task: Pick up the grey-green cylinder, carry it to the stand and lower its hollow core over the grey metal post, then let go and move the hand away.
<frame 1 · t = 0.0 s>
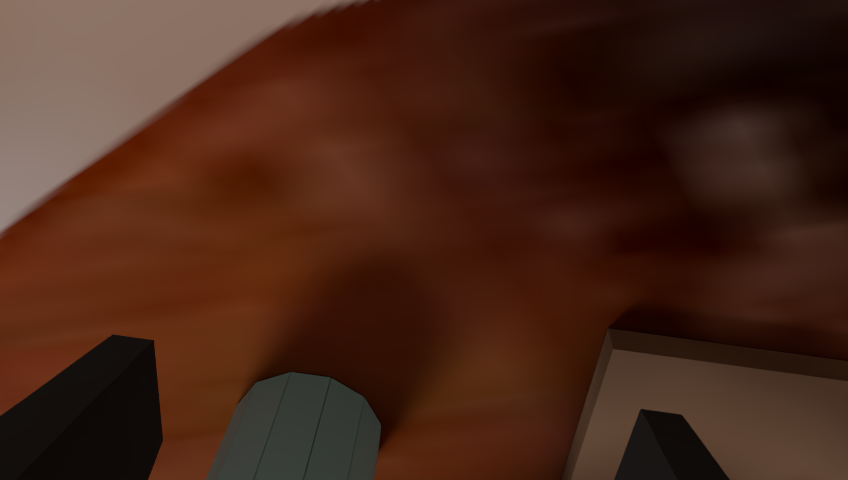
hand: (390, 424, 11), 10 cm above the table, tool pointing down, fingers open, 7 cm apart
grey-green cylinder: (308, 429, 25), on the table
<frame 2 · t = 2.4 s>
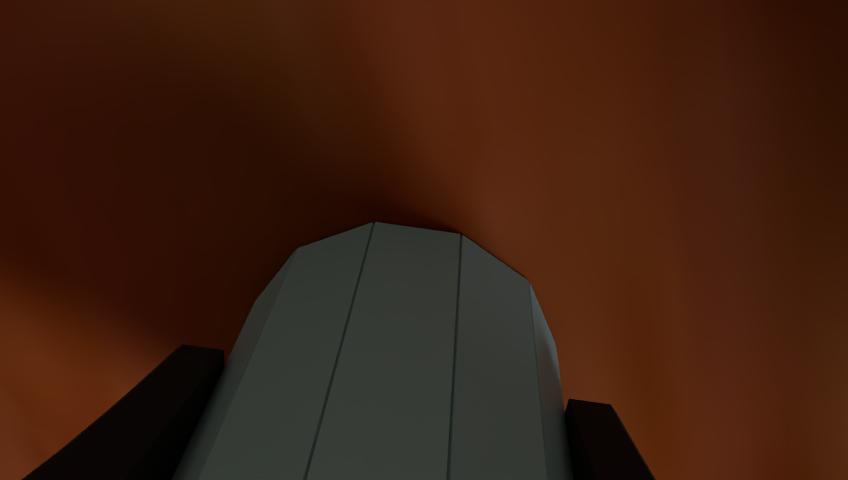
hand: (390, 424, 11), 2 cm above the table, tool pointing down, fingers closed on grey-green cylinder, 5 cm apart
grey-green cylinder: (400, 355, 12), on the table, touching gripper
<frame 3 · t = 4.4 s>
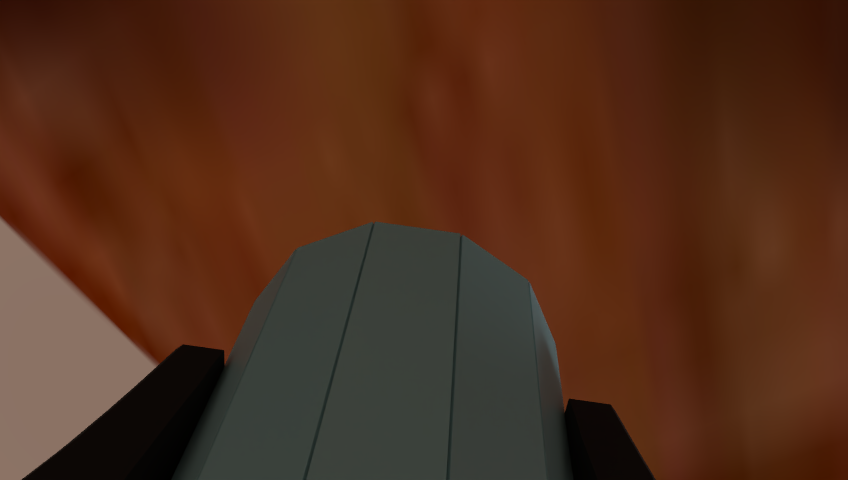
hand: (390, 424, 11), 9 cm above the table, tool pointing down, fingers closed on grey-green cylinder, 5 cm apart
grey-green cylinder: (400, 354, 12), point 8 cm above the table, touching gripper
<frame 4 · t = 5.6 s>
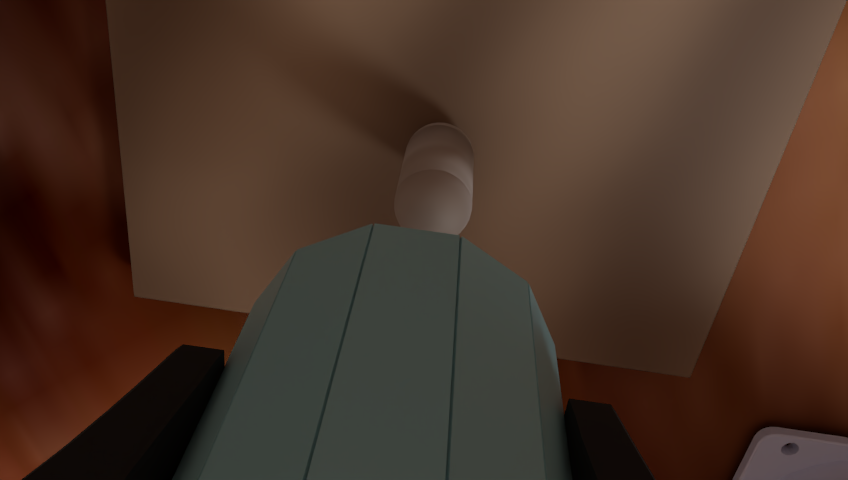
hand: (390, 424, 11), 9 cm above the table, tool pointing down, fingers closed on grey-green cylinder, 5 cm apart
grey-green cylinder: (400, 356, 12), point 8 cm above the table, touching gripper
roll stand: (443, 128, 18), on the table
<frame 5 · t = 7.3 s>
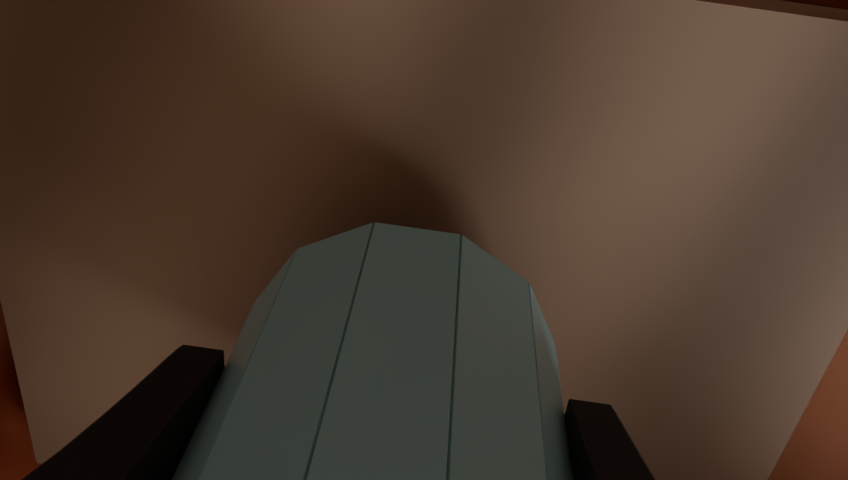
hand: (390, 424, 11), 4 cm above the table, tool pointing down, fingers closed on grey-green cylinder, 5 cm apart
grey-green cylinder: (400, 355, 12), point 3 cm above the table, touching gripper
roll stand: (413, 271, 14), on the table
when the fingers open (4 cm above the table, at t = 7.9 s): grey-green cylinder drops 2 cm, resting on roll stand.
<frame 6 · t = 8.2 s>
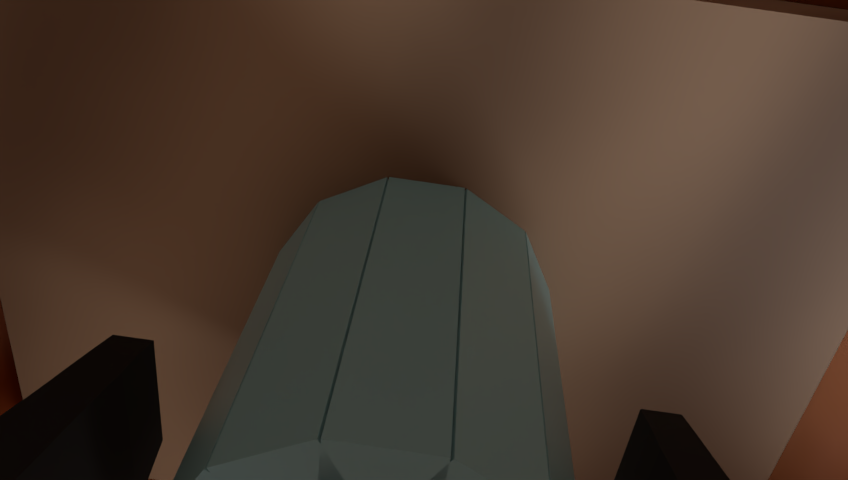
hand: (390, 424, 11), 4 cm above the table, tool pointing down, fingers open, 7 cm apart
grey-green cylinder: (410, 300, 14), point 1 cm above the table, touching roll stand
roll stand: (413, 271, 14), on the table
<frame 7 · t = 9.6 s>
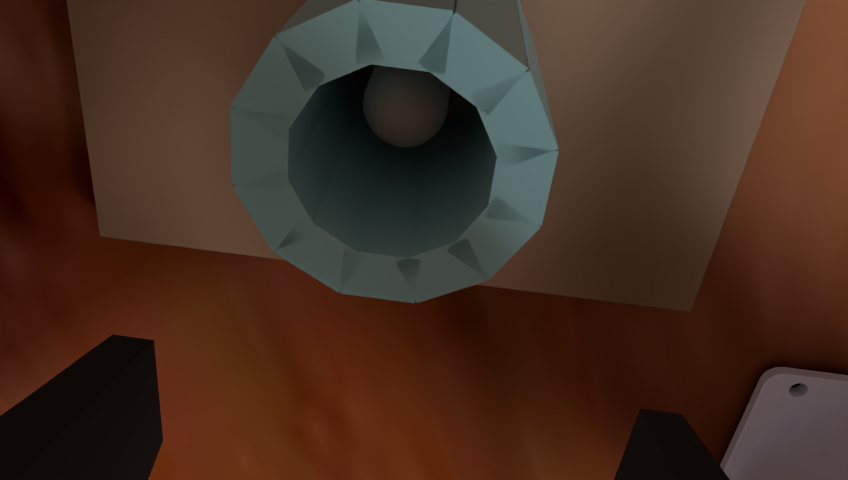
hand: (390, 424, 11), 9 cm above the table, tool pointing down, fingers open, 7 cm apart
grey-green cylinder: (418, 55, 16), point 1 cm above the table, touching roll stand
roll stand: (421, 42, 17), on the table
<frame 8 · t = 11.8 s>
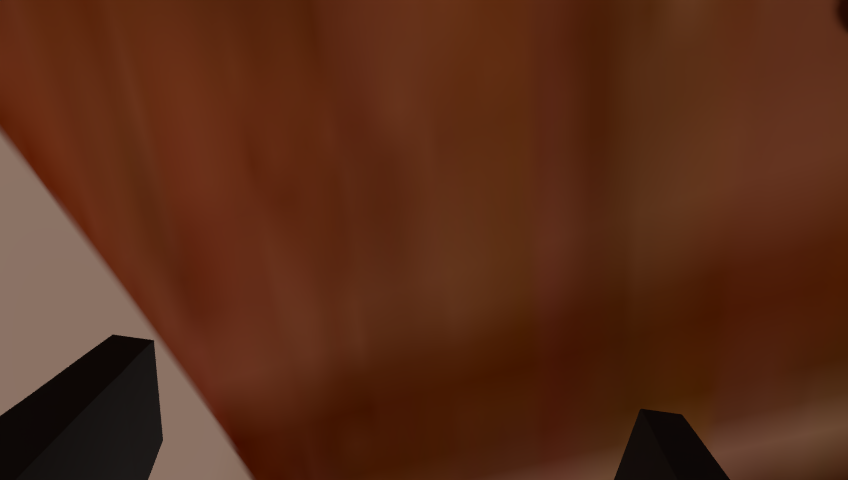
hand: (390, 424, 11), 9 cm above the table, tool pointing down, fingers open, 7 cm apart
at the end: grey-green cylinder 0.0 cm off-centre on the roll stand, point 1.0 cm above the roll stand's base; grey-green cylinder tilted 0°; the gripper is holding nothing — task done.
